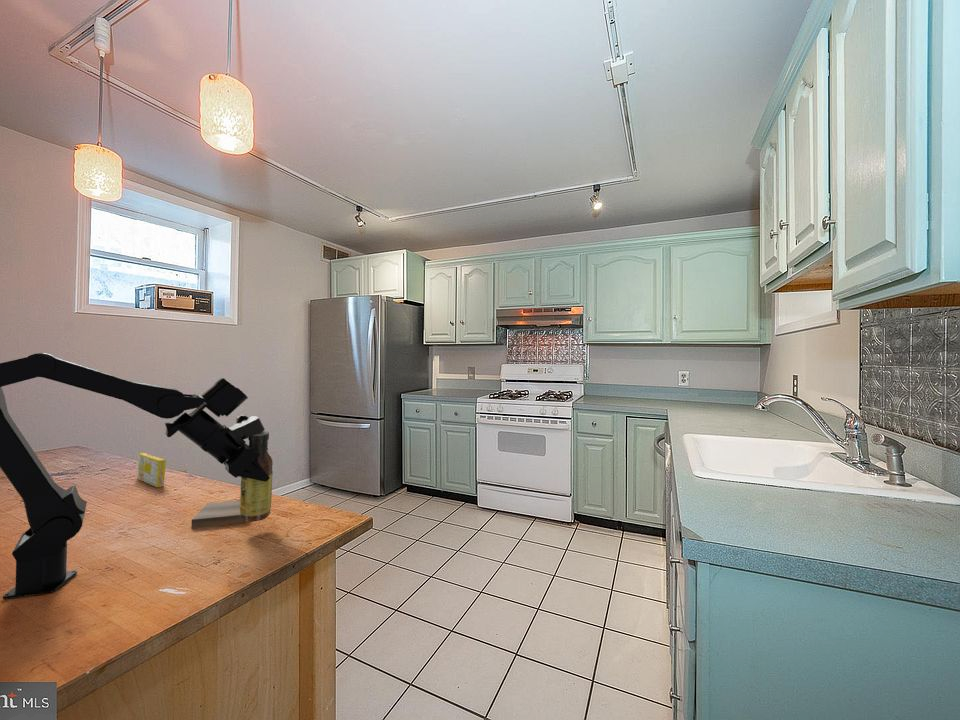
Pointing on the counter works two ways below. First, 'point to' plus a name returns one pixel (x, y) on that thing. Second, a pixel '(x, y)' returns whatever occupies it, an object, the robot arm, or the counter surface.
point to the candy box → (151, 469)
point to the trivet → (218, 514)
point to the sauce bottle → (257, 484)
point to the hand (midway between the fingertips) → (264, 476)
